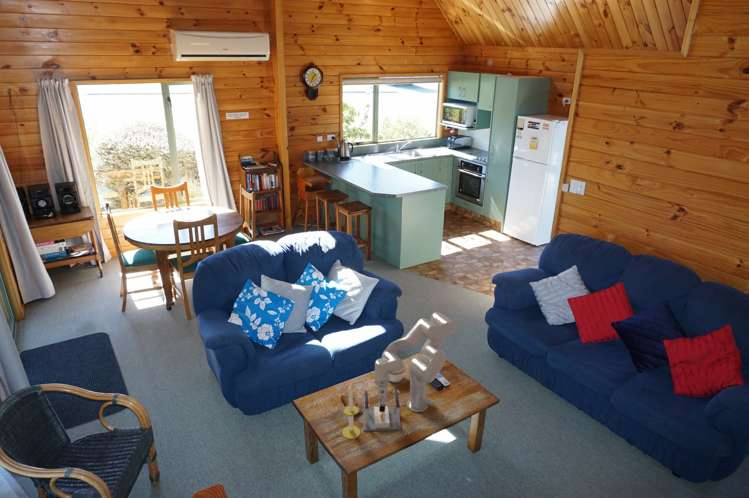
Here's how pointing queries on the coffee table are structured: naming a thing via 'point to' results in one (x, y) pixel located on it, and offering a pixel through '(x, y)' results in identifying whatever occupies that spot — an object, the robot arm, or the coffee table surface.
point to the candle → (351, 418)
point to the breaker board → (372, 425)
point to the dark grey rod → (366, 400)
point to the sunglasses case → (346, 402)
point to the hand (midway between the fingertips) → (381, 405)
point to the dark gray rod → (397, 399)
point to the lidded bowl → (397, 375)
